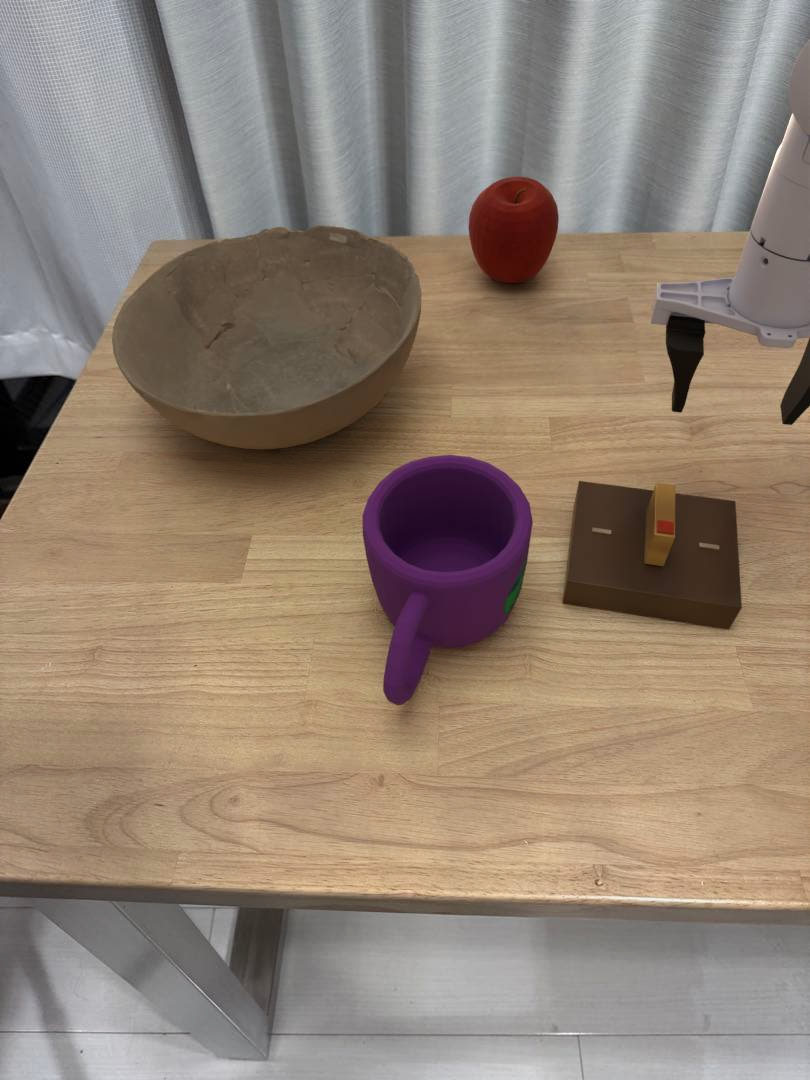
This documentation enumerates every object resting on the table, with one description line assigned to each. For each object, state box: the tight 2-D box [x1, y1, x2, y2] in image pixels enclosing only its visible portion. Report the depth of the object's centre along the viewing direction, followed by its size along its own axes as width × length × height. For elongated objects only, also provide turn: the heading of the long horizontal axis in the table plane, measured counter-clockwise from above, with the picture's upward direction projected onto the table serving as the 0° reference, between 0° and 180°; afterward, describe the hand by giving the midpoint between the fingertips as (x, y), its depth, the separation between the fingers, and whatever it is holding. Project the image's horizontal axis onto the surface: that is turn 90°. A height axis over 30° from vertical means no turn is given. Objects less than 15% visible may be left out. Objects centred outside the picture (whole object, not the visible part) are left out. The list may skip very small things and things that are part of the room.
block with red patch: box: [644, 482, 677, 566], centre depth 53 cm, size 5×1×4 cm, turn 167°
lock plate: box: [562, 480, 743, 630], centre depth 55 cm, size 12×10×3 cm
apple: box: [468, 176, 560, 284], centre depth 78 cm, size 10×10×10 cm
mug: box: [362, 454, 533, 706], centre depth 50 cm, size 17×11×10 cm, turn 160°
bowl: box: [111, 224, 422, 450], centre depth 68 cm, size 28×28×10 cm
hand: (730, 409), depth 53 cm, fingers open, 7 cm apart
